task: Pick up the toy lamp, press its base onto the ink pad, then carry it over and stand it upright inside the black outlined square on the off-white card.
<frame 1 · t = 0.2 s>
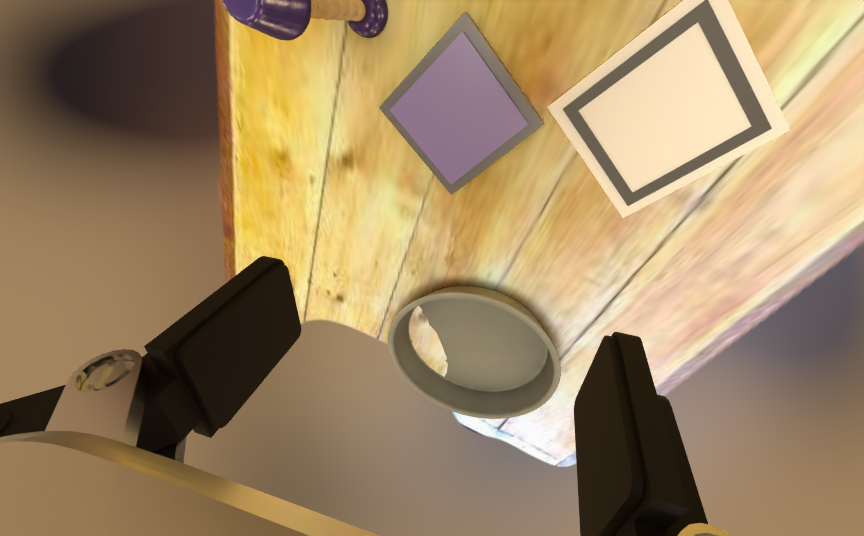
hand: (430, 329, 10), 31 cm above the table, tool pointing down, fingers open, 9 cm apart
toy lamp: (365, 8, 34), on the table
ink pad: (459, 114, 36), on the table
marked card: (660, 117, 32), on the table
cake pan: (474, 340, 54), on the table
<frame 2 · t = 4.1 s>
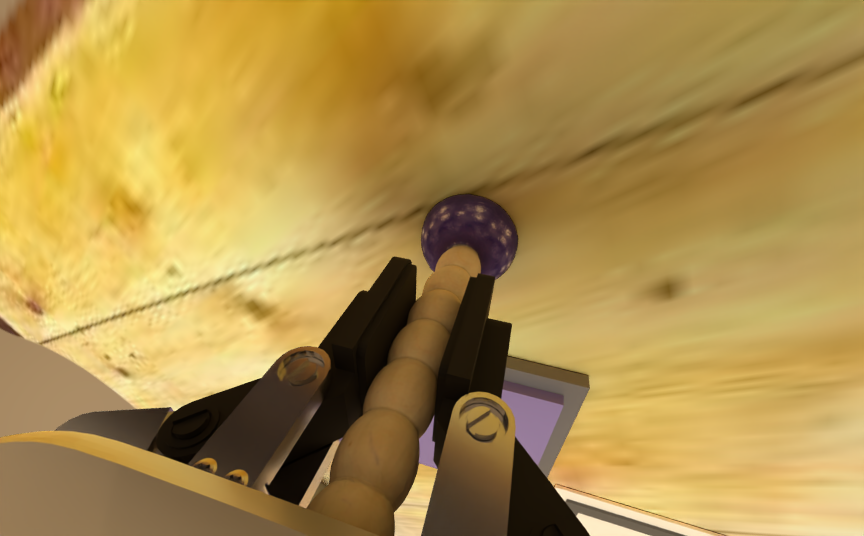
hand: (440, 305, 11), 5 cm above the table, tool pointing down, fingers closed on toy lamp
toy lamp: (469, 229, 16), on the table, touching gripper
ink pad: (462, 412, 23), on the table
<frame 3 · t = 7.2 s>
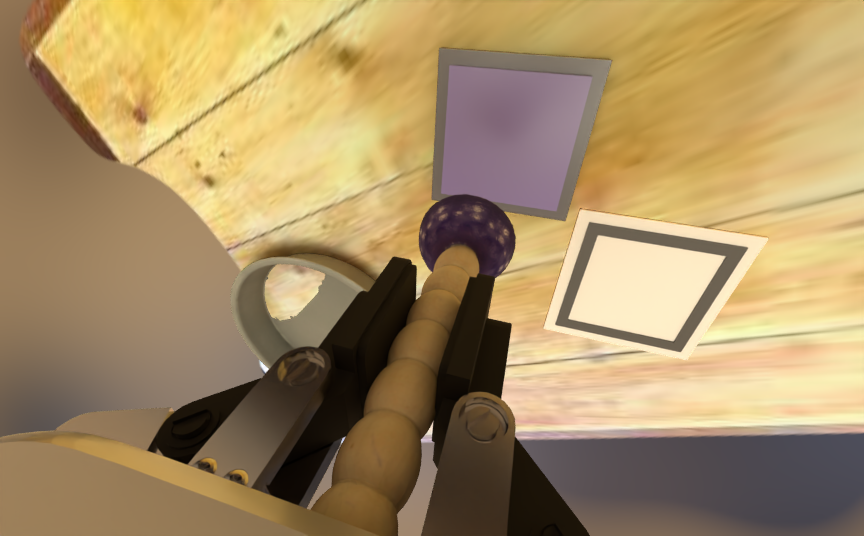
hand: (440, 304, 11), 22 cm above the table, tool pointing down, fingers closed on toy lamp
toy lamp: (467, 229, 16), point 17 cm above the table, touching gripper
ink pad: (508, 138, 29), on the table
marked card: (637, 289, 33), on the table
cake pan: (334, 319, 48), on the table
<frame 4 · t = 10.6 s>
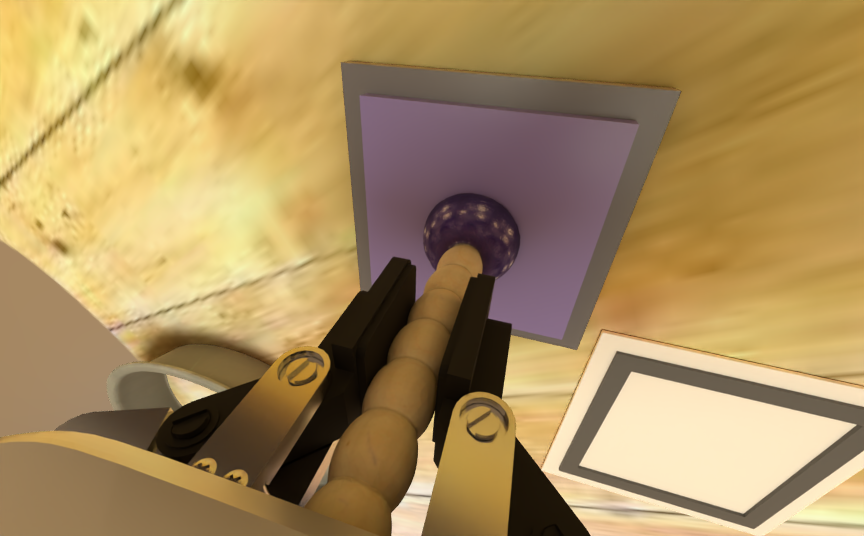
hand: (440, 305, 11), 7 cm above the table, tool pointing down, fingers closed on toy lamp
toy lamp: (472, 228, 16), point 1 cm above the table, touching gripper, ink pad
ink pad: (478, 218, 17), on the table
marked card: (691, 444, 21), on the table
cake pan: (261, 418, 36), on the table
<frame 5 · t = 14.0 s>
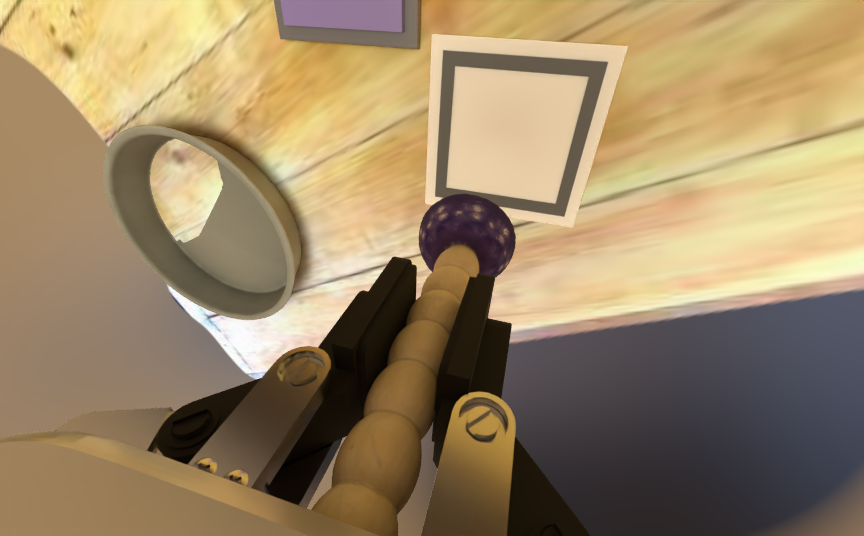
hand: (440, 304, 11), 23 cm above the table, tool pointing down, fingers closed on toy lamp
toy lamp: (467, 229, 16), point 18 cm above the table, touching gripper
marked card: (508, 138, 30), on the table
cake pan: (227, 221, 45), on the table
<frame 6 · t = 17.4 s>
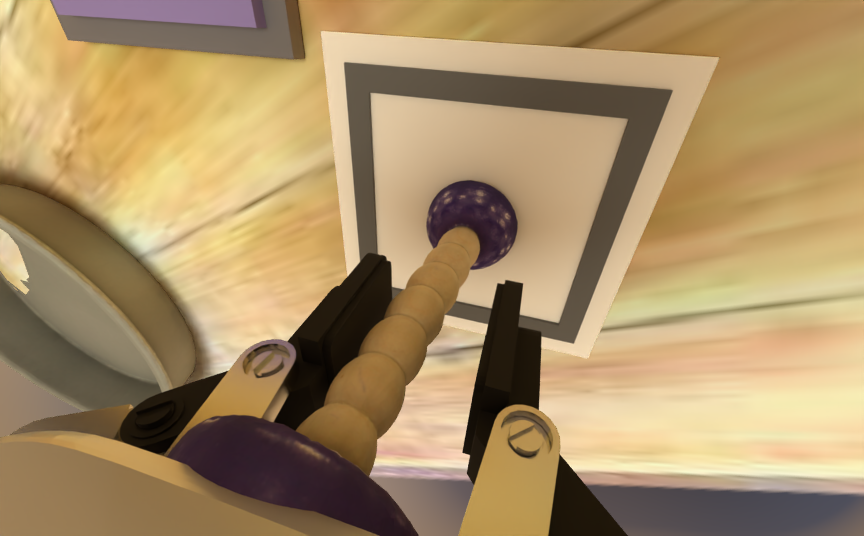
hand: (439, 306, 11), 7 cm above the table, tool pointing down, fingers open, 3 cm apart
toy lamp: (472, 215, 17), resting on marked card
marked card: (475, 218, 17), on the table
cake pan: (93, 296, 32), on the table
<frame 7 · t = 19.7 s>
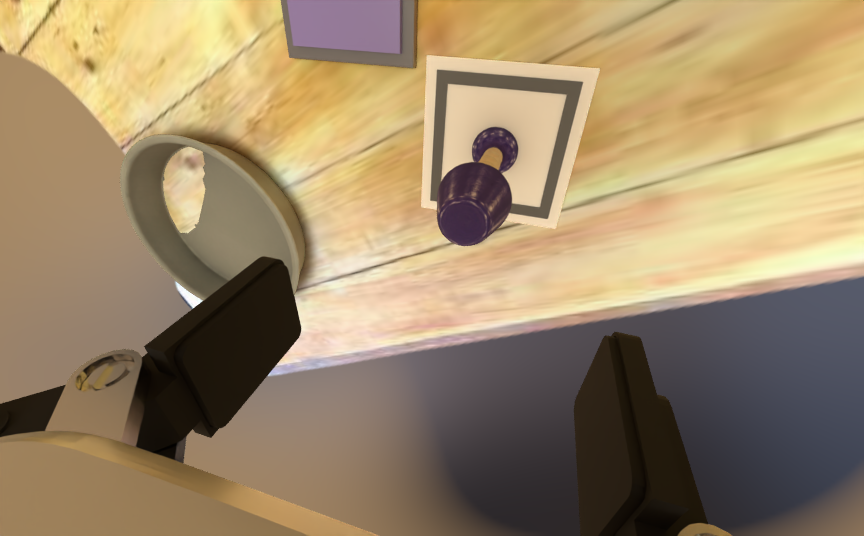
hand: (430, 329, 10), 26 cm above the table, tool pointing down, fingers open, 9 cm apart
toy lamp: (495, 146, 33), resting on marked card
marked card: (496, 148, 33), on the table
cake pan: (235, 223, 47), on the table
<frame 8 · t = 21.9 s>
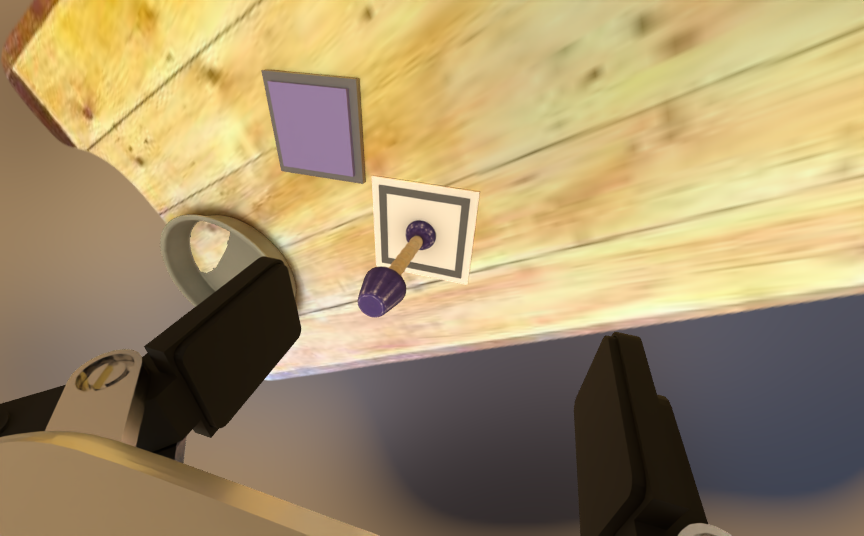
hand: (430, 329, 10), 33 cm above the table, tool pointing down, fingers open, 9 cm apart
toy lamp: (421, 231, 48), resting on marked card
ink pad: (318, 128, 44), on the table
marked card: (422, 232, 48), on the table
cake pan: (243, 268, 63), on the table
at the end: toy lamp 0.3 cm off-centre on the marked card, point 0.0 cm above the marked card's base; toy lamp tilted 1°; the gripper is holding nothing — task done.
